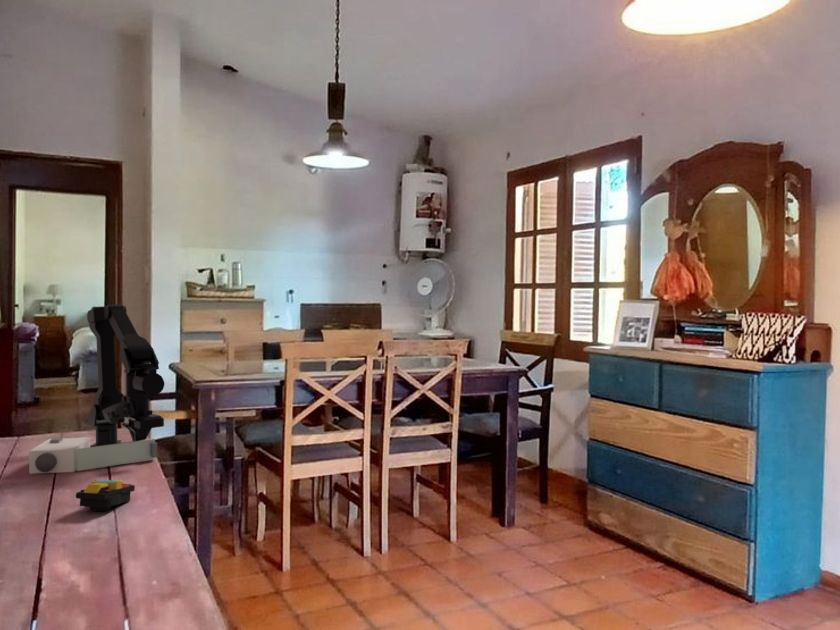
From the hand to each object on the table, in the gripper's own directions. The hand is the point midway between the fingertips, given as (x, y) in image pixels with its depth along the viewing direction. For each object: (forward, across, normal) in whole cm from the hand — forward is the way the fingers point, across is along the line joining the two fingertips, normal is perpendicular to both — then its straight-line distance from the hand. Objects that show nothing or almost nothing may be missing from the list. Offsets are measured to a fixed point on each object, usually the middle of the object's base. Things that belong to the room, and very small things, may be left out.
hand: (138, 450), depth 186 cm
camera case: (+2, -7, -17) cm, 18 cm away
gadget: (+2, +35, -21) cm, 41 cm away
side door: (+2, +3, -7) cm, 8 cm away
